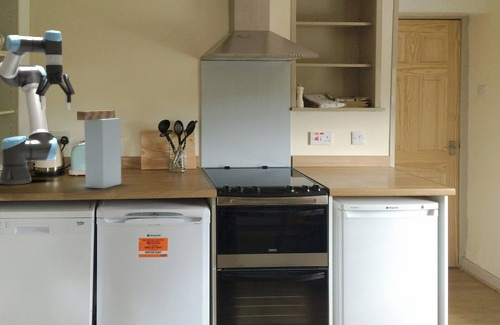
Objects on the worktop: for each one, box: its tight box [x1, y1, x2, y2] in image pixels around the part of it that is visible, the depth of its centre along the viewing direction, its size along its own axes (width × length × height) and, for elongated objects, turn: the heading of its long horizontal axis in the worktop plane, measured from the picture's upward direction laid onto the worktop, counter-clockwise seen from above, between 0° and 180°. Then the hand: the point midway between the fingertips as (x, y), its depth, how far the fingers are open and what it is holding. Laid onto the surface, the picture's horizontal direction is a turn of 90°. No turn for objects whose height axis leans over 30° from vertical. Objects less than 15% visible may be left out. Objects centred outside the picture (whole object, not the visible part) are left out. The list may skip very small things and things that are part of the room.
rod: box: [76, 109, 116, 121], centre depth 280 cm, size 26×4×4 cm, turn 161°
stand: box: [83, 117, 122, 189], centre depth 287 cm, size 16×10×33 cm, turn 161°
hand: (55, 109), depth 276 cm, fingers open, 13 cm apart
